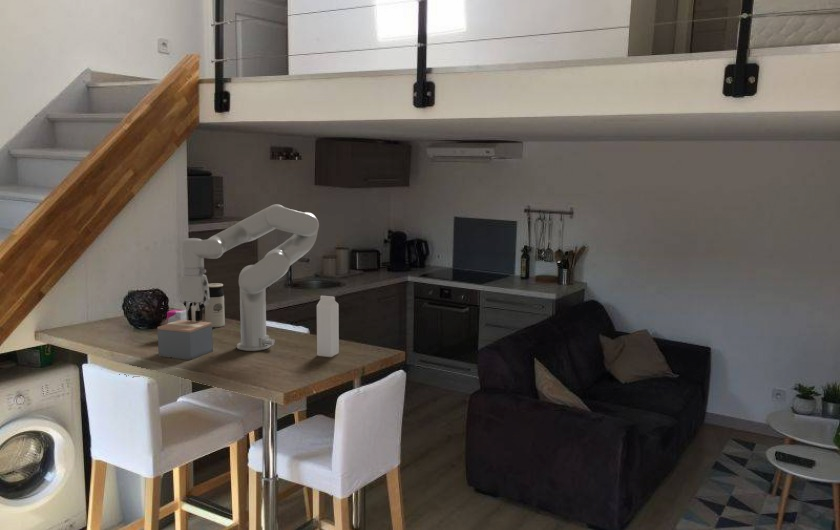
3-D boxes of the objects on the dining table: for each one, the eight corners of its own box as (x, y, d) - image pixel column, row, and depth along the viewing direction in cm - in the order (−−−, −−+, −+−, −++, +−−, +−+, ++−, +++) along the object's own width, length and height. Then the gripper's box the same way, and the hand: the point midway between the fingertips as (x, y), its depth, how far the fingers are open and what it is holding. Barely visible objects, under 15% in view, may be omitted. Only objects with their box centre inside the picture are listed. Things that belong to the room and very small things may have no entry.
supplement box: (187, 337, 283) (186, 309, 281) (181, 341, 277) (180, 312, 275) (174, 336, 283) (172, 309, 281) (167, 340, 277) (166, 312, 276)
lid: (212, 324, 261) (211, 306, 260) (190, 332, 249) (189, 313, 248) (180, 321, 265) (180, 304, 264) (157, 329, 253) (156, 310, 252)
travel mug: (204, 324, 305) (203, 283, 303) (223, 323, 308) (222, 282, 306) (206, 328, 298) (205, 286, 296) (226, 326, 301) (224, 285, 299)
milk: (324, 351, 263) (324, 294, 260) (339, 353, 261) (338, 295, 258) (316, 355, 258) (316, 296, 255) (331, 357, 256) (331, 297, 253)
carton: (212, 351, 262) (212, 325, 261) (191, 359, 250) (190, 332, 249) (181, 347, 267) (180, 322, 265) (158, 356, 255) (157, 329, 253)
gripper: (218, 271, 261) (219, 320, 263) (182, 269, 266) (183, 316, 269) (205, 274, 254) (207, 324, 256) (168, 271, 259) (170, 320, 262)
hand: (195, 319), depth 262 cm, fingers closed on lid, 2 cm apart
